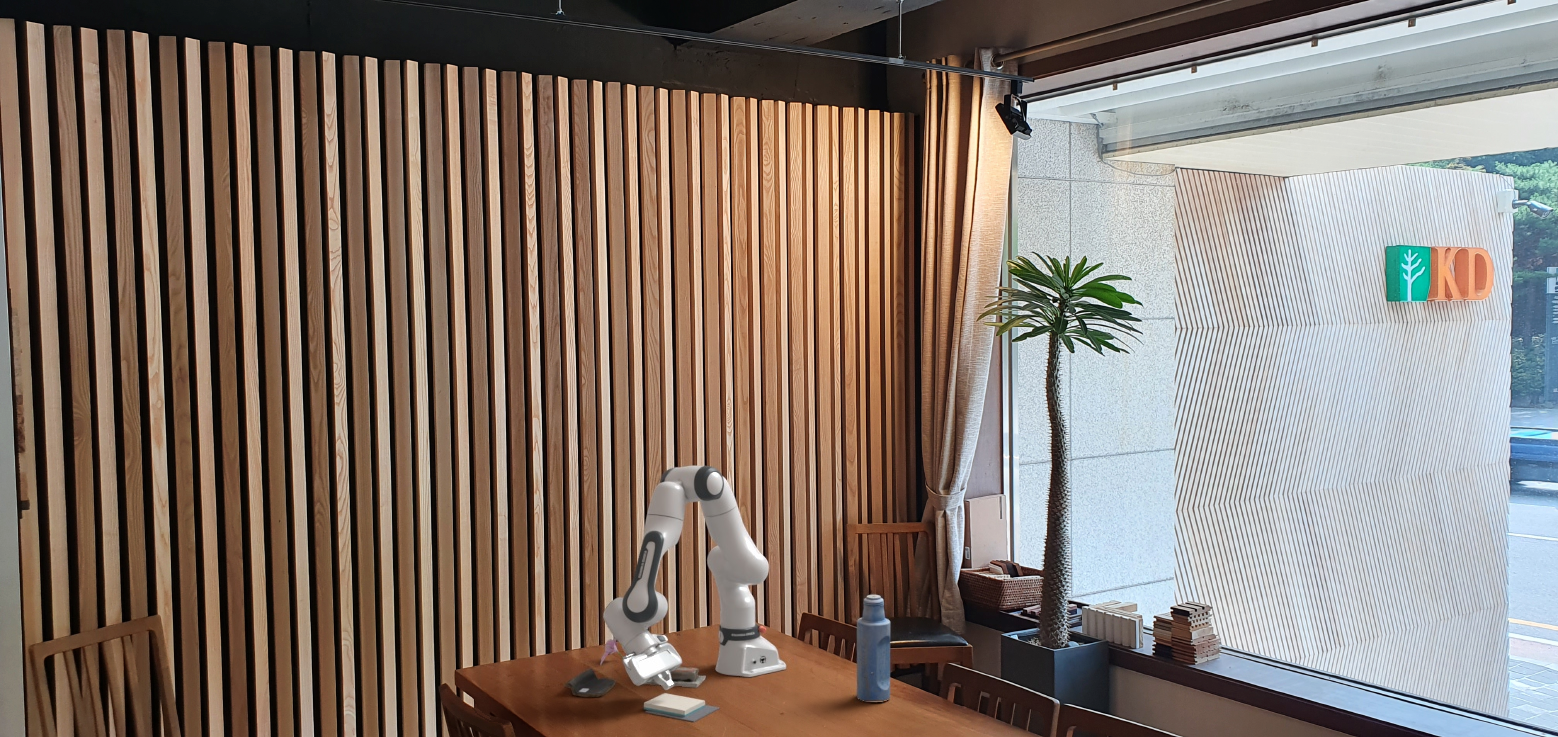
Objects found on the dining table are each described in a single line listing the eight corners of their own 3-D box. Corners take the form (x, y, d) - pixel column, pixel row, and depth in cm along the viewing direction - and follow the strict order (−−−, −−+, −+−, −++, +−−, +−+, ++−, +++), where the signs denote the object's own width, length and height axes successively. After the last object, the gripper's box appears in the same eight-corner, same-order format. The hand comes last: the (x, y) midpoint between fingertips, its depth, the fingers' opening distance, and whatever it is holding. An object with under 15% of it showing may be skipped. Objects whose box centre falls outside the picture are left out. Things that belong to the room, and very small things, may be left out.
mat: (645, 712, 306) (645, 711, 306) (671, 699, 318) (671, 698, 318) (694, 721, 298) (694, 720, 298) (719, 708, 310) (719, 707, 310)
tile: (643, 702, 308) (684, 710, 302) (664, 692, 317) (704, 700, 310) (643, 708, 308) (684, 716, 302) (664, 699, 317) (705, 706, 310)
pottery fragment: (599, 699, 319) (599, 685, 319) (561, 696, 322) (561, 681, 322) (618, 684, 333) (618, 670, 333) (582, 681, 336) (582, 667, 336)
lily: (610, 657, 366) (596, 634, 364) (640, 646, 363) (626, 622, 360) (600, 678, 355) (585, 654, 352) (630, 667, 351) (616, 643, 349)
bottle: (871, 691, 325) (871, 590, 325) (897, 698, 318) (897, 595, 318) (850, 698, 318) (849, 595, 318) (875, 705, 311) (875, 600, 311)
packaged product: (640, 669, 333) (650, 660, 342) (640, 685, 333) (650, 676, 342) (697, 673, 329) (706, 663, 339) (697, 689, 329) (706, 679, 339)
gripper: (626, 650, 304) (654, 690, 300) (668, 633, 322) (696, 671, 318) (613, 664, 307) (641, 704, 302) (656, 647, 325) (683, 684, 320)
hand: (670, 687), depth 310 cm, fingers closed
